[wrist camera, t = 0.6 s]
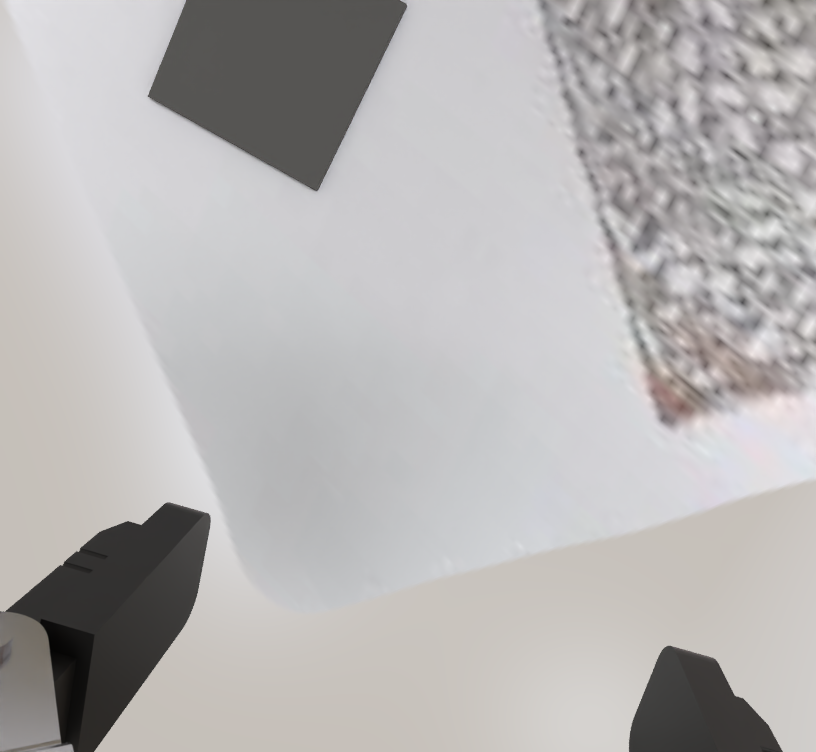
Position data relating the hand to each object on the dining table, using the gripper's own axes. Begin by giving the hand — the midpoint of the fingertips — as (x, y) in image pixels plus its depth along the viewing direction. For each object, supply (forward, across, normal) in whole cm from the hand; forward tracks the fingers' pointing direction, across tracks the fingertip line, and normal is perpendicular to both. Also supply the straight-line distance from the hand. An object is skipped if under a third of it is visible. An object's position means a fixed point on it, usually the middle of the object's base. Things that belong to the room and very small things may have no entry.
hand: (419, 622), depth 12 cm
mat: (+27, +13, -12) cm, 32 cm away
